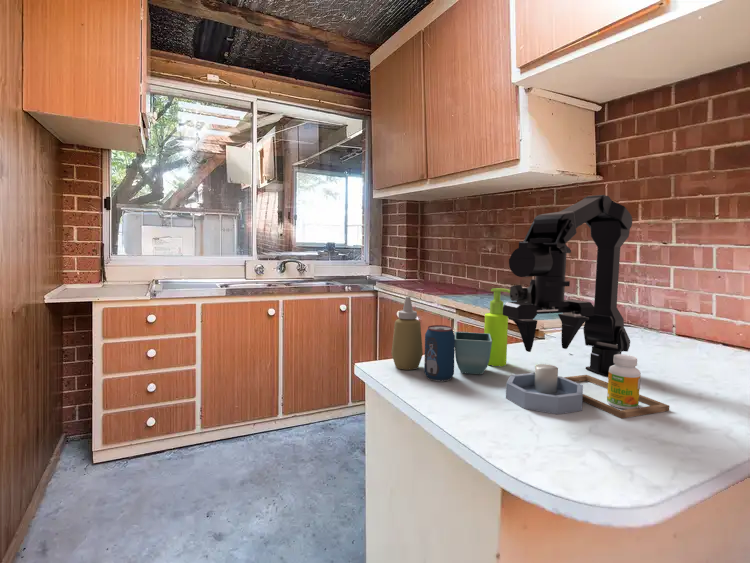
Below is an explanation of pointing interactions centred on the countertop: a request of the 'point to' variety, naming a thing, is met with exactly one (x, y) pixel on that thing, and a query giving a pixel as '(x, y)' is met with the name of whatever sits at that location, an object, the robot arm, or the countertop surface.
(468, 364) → the flower pot
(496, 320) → the soap dispenser
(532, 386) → the bowl
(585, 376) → the wooden frame
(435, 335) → the soda can
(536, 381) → the white rounded cylinder
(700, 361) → the countertop surface
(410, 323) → the squeeze bottle
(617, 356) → the supplement bottle
